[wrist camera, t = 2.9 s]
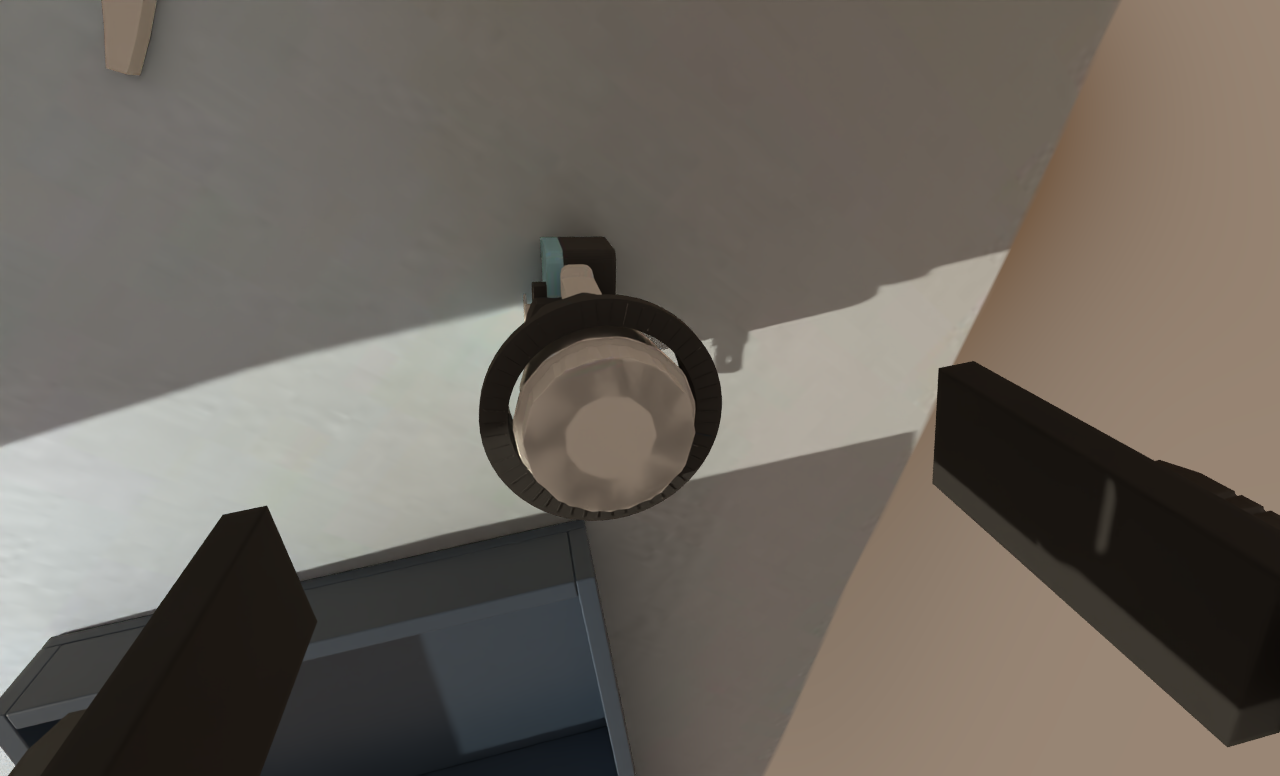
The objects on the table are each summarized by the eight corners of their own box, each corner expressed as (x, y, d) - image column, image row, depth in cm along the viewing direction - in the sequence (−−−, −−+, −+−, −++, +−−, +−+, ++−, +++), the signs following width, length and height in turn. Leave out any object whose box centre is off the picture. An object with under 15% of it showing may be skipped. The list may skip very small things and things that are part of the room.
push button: (641, 407, 25) (721, 582, 16) (494, 415, 24) (490, 607, 15) (647, 224, 22) (746, 308, 13) (482, 225, 21) (468, 317, 12)
